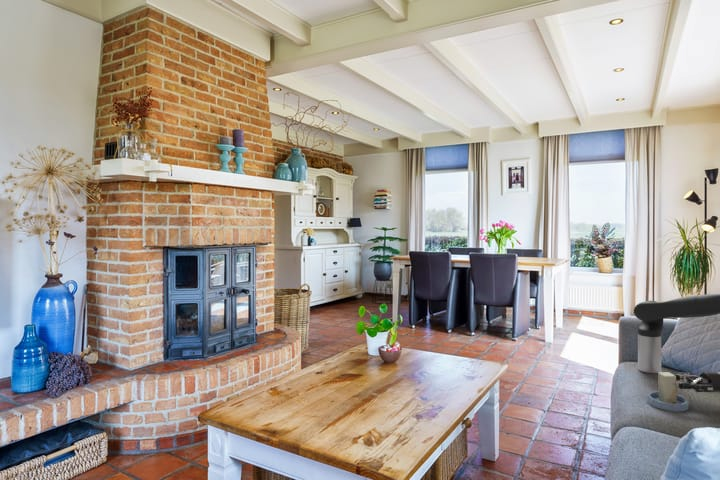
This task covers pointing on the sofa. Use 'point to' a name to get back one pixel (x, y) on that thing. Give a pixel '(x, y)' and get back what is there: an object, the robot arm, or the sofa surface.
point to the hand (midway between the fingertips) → (672, 381)
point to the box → (667, 387)
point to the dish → (654, 401)
